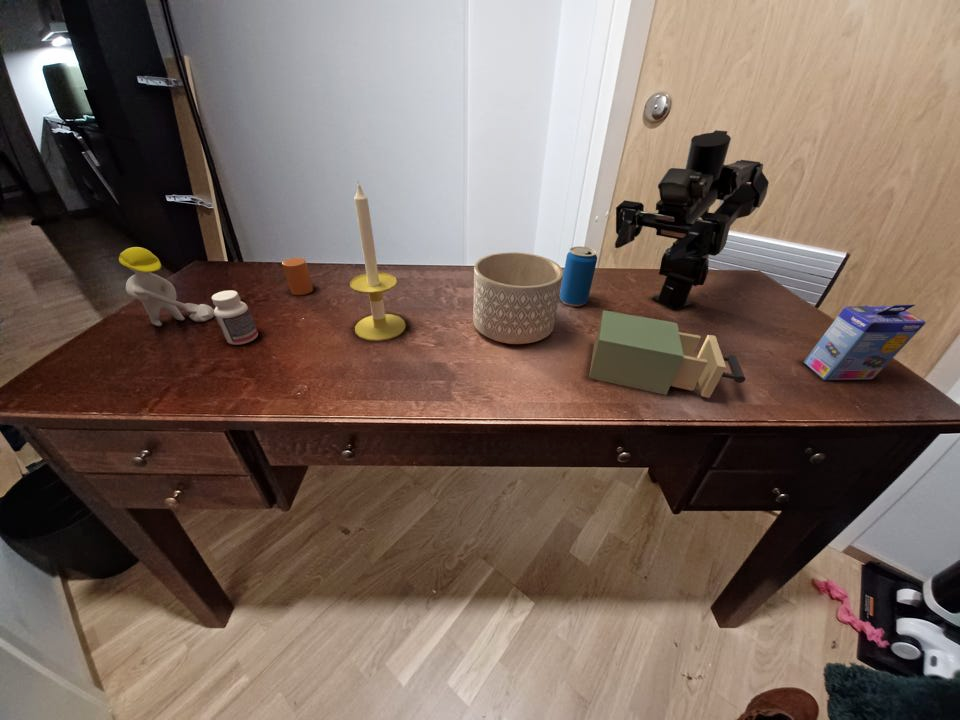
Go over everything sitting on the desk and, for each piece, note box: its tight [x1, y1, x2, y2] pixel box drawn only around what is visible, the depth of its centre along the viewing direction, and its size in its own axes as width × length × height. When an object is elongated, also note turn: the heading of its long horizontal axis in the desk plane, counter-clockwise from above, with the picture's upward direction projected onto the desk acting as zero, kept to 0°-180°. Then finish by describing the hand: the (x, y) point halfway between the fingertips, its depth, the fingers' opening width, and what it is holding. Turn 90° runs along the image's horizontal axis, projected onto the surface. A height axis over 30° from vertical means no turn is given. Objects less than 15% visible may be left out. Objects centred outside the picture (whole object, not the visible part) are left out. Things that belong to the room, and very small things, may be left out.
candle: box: [349, 181, 407, 342], centre depth 65 cm, size 10×10×27 cm
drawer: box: [670, 331, 746, 399], centre depth 60 cm, size 15×9×6 cm, turn 71°
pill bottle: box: [211, 289, 259, 346], centre depth 66 cm, size 5×5×9 cm
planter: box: [472, 251, 564, 345], centre depth 71 cm, size 16×16×13 cm
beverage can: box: [559, 246, 598, 307], centre depth 82 cm, size 6×6×12 cm
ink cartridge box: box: [803, 304, 927, 381], centre depth 62 cm, size 10×6×14 cm, turn 95°
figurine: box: [118, 246, 215, 327], centre depth 69 cm, size 10×9×15 cm
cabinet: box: [588, 309, 684, 396], centre depth 62 cm, size 12×10×8 cm
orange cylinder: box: [282, 257, 314, 296], centre depth 83 cm, size 5×5×7 cm
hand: (640, 251), depth 61 cm, fingers open, 9 cm apart
